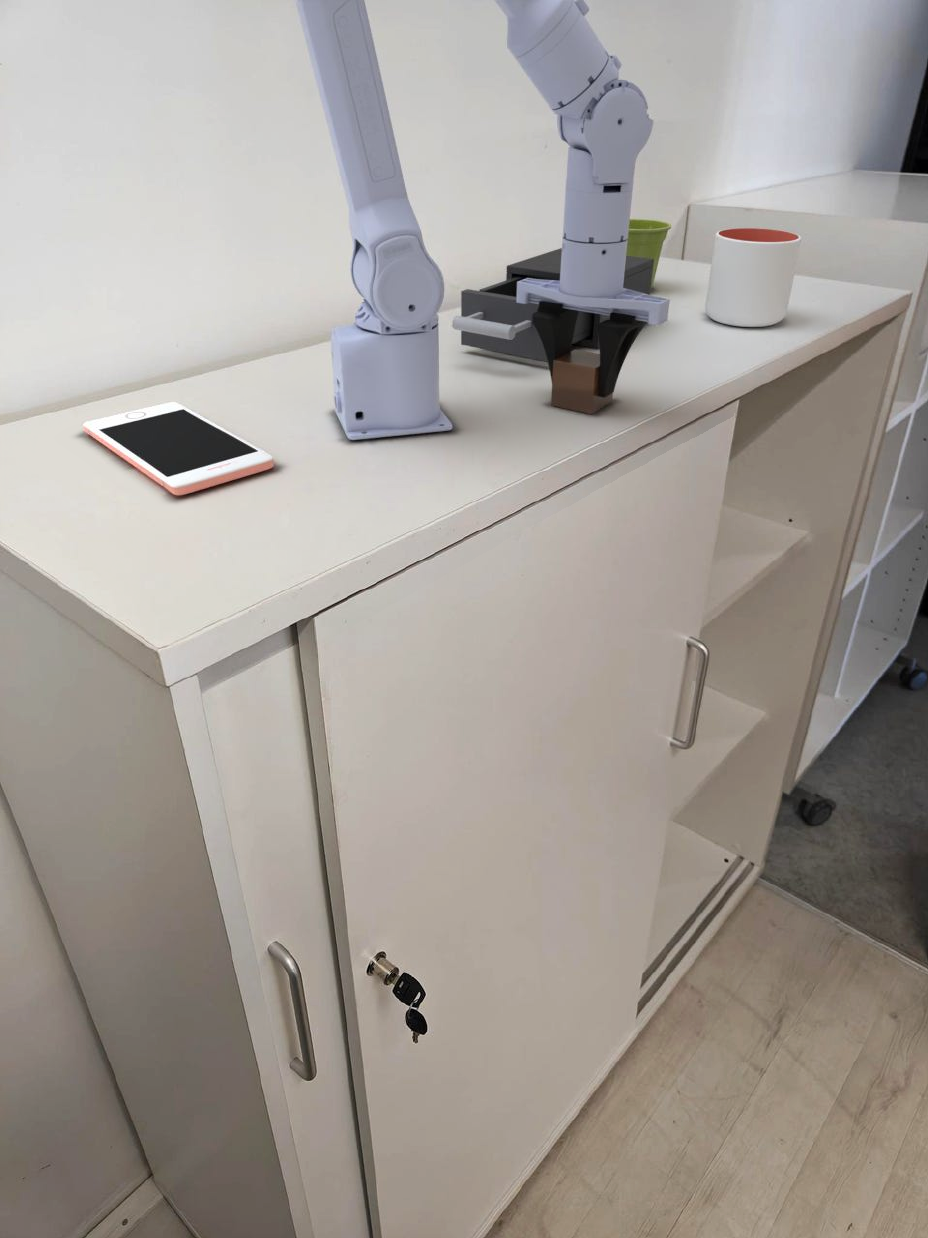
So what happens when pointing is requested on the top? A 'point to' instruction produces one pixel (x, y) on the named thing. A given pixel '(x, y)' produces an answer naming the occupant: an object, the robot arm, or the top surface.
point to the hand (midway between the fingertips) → (583, 389)
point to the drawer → (507, 321)
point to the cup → (751, 276)
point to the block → (577, 382)
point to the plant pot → (647, 240)
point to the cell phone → (178, 447)
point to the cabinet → (549, 268)
